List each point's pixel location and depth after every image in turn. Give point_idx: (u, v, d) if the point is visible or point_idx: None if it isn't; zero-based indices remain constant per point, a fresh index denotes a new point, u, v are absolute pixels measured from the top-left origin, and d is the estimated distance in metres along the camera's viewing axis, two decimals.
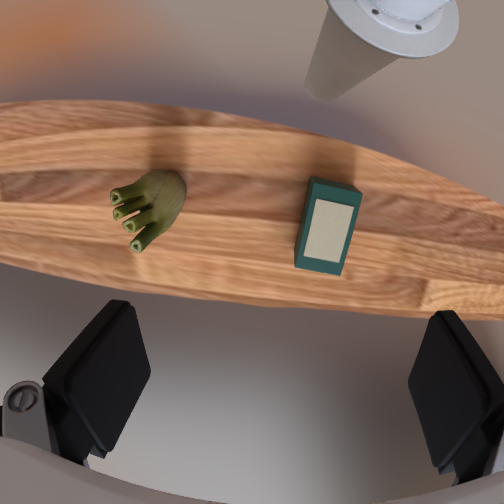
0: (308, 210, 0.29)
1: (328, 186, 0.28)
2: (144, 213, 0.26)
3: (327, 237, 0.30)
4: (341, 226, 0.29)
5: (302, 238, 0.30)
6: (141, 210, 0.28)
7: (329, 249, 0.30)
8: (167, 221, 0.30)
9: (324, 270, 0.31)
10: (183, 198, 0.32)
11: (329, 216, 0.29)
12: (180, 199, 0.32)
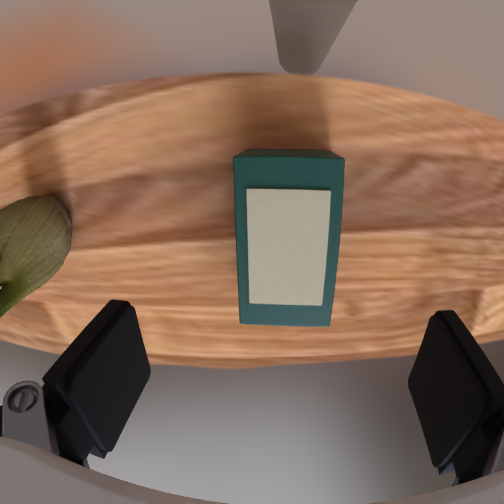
0: (236, 215, 0.14)
1: (266, 157, 0.13)
2: None
3: (288, 261, 0.15)
4: (312, 236, 0.14)
5: (239, 272, 0.15)
6: None
7: (298, 284, 0.15)
8: (33, 275, 0.16)
9: (296, 322, 0.16)
10: (60, 232, 0.18)
11: (282, 220, 0.14)
12: (53, 235, 0.18)
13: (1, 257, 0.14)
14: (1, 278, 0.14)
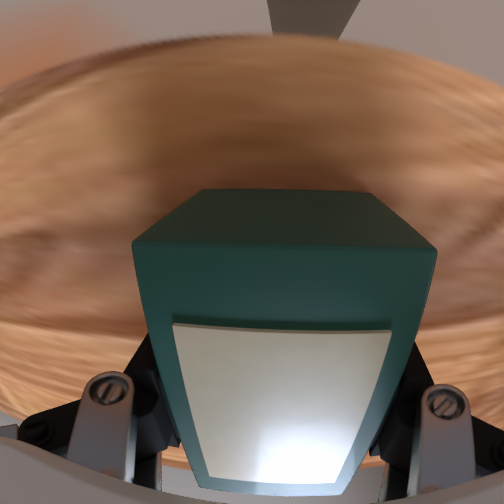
0: (161, 370, 0.06)
1: (218, 248, 0.05)
2: None
3: (276, 445, 0.06)
4: (332, 411, 0.06)
5: (185, 444, 0.07)
6: None
7: (295, 464, 0.07)
8: None
9: (290, 493, 0.08)
10: None
11: (266, 387, 0.06)
12: None
13: None
14: None
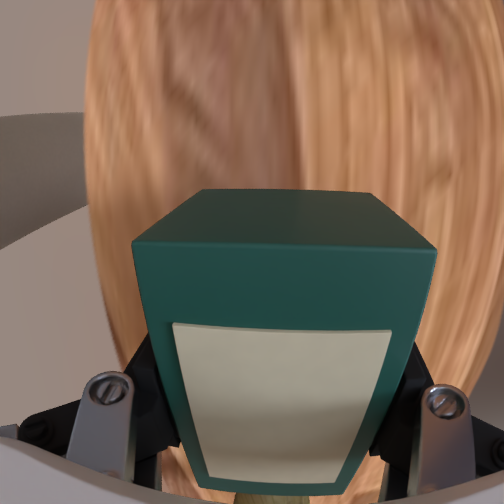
0: (161, 370, 0.06)
1: (218, 248, 0.05)
2: None
3: (277, 445, 0.06)
4: (332, 411, 0.06)
5: (185, 444, 0.07)
6: None
7: (295, 464, 0.07)
8: None
9: (290, 493, 0.08)
10: None
11: (265, 387, 0.06)
12: (269, 498, 0.16)
13: None
14: None
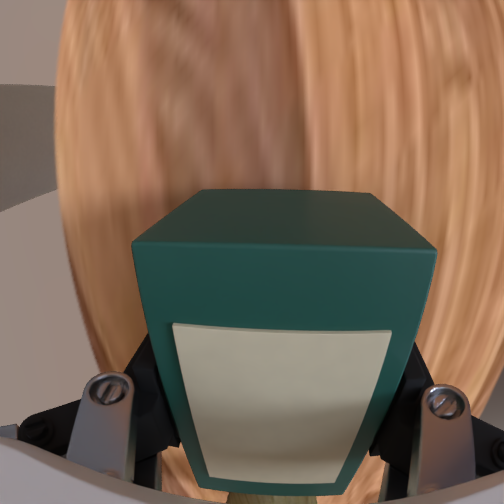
0: (161, 370, 0.06)
1: (218, 248, 0.05)
2: None
3: (276, 445, 0.06)
4: (332, 411, 0.06)
5: (184, 444, 0.07)
6: None
7: (295, 464, 0.07)
8: None
9: (290, 493, 0.08)
10: None
11: (266, 388, 0.06)
12: (268, 499, 0.13)
13: None
14: None
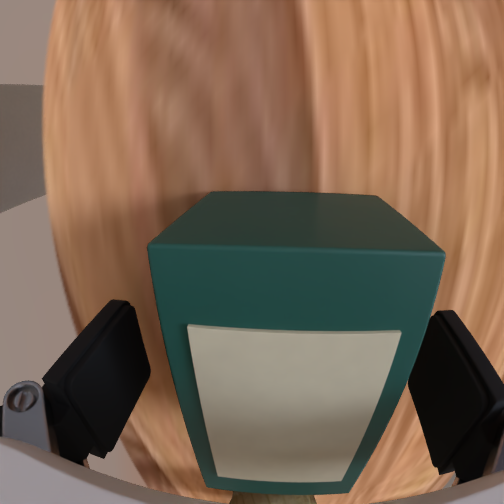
0: (174, 371, 0.06)
1: (235, 251, 0.05)
2: None
3: (286, 444, 0.06)
4: (342, 410, 0.06)
5: (194, 444, 0.07)
6: None
7: (303, 463, 0.07)
8: None
9: (297, 492, 0.08)
10: (271, 503, 0.13)
11: (278, 387, 0.06)
12: None
13: None
14: None
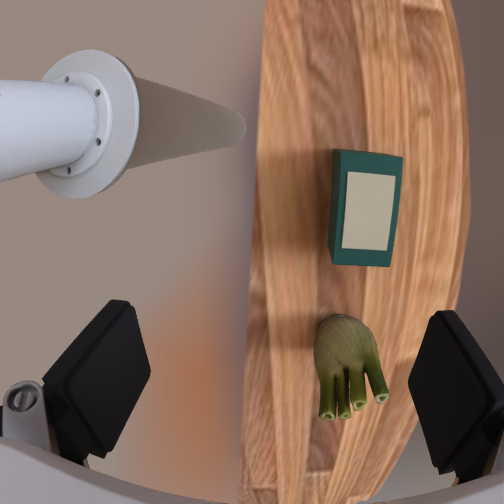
0: (340, 188, 0.22)
1: (360, 153, 0.21)
2: (350, 381, 0.22)
3: (368, 219, 0.22)
4: (383, 203, 0.22)
5: (337, 225, 0.23)
6: None
7: (373, 235, 0.23)
8: (366, 346, 0.25)
9: (370, 263, 0.24)
10: (345, 321, 0.28)
11: (367, 192, 0.22)
12: (345, 326, 0.28)
13: (346, 366, 0.24)
14: (359, 368, 0.24)
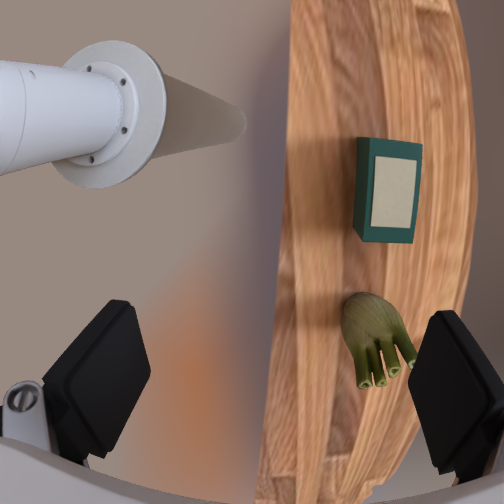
0: (368, 171, 0.23)
1: (386, 140, 0.22)
2: (383, 351, 0.24)
3: (394, 199, 0.24)
4: (406, 185, 0.23)
5: (367, 205, 0.24)
6: (380, 349, 0.26)
7: (398, 213, 0.24)
8: (393, 319, 0.27)
9: (395, 240, 0.25)
10: (370, 298, 0.30)
11: (392, 175, 0.23)
12: (371, 302, 0.29)
13: (376, 338, 0.26)
14: (389, 339, 0.25)
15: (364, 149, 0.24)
